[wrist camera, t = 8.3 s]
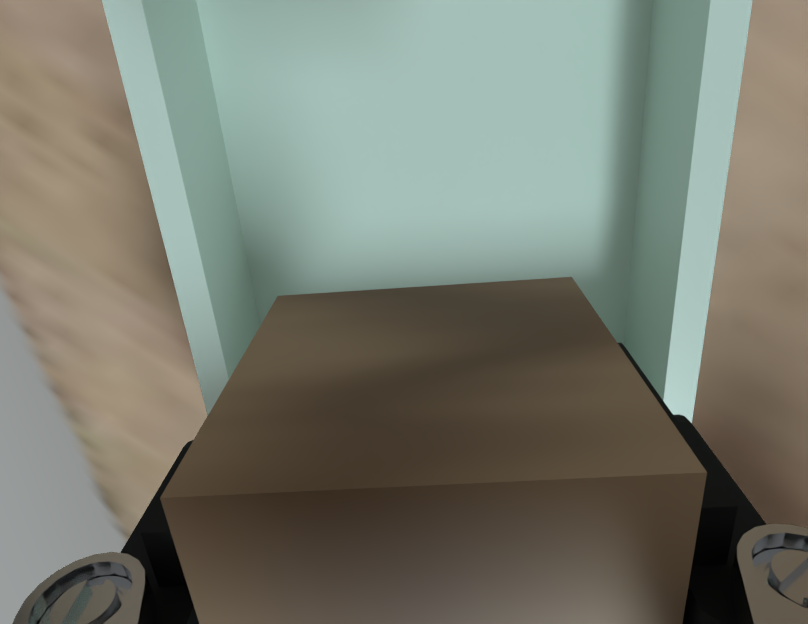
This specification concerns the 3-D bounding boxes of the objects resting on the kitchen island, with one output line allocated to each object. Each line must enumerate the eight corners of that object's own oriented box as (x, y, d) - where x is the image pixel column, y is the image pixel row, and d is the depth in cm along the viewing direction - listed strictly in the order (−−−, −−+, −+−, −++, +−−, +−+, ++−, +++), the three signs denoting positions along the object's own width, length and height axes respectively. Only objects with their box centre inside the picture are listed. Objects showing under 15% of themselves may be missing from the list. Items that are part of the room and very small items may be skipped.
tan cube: (571, 276, 10) (707, 472, 5) (562, 508, 12) (653, 796, 7) (277, 296, 10) (158, 498, 5) (317, 519, 12) (256, 804, 7)
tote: (722, -513, 14) (865, -783, 10) (639, 358, 24) (690, 431, 19) (87, -422, 15) (-58, -628, 11) (255, 378, 25) (217, 452, 20)
